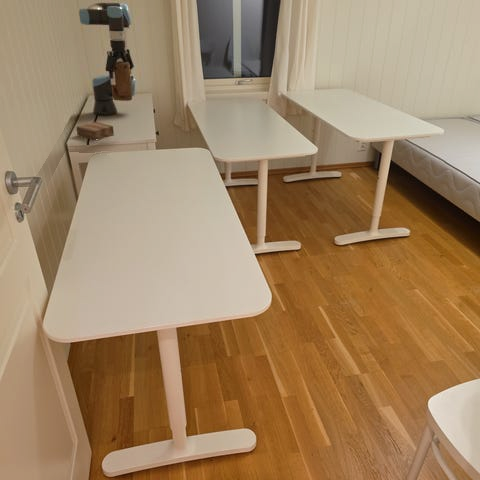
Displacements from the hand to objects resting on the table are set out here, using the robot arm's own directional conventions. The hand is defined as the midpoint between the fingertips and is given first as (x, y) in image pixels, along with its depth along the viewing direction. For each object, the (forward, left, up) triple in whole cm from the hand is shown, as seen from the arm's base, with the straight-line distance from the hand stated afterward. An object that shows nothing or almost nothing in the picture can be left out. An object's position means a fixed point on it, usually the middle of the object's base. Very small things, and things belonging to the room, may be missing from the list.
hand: (121, 83), depth 246 cm
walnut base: (+14, -10, -28) cm, 33 cm away
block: (0, 0, -9) cm, 9 cm away
